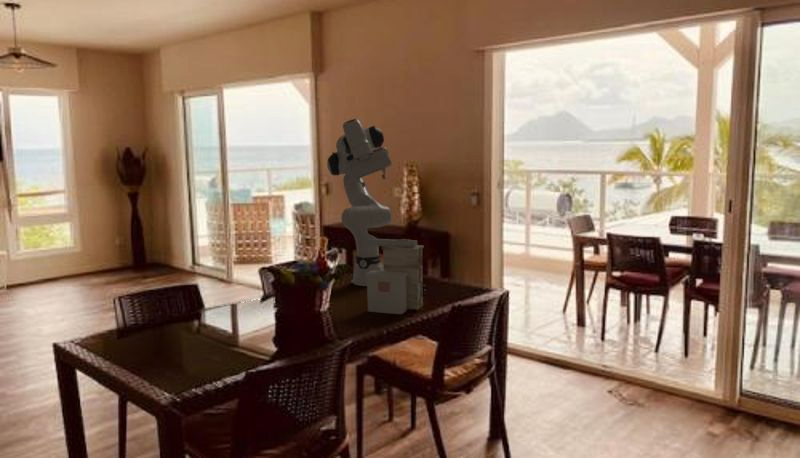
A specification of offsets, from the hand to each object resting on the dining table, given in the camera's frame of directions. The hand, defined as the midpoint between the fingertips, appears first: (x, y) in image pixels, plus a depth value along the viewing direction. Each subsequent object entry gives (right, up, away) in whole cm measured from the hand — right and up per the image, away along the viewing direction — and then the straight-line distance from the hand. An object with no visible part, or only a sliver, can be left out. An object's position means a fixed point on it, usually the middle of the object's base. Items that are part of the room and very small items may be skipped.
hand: (374, 182), depth 261 cm
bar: (+8, -27, -4) cm, 28 cm away
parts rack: (+6, -54, -10) cm, 55 cm away
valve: (+16, -51, +10) cm, 55 cm away
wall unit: (+13, -53, -3) cm, 55 cm away
